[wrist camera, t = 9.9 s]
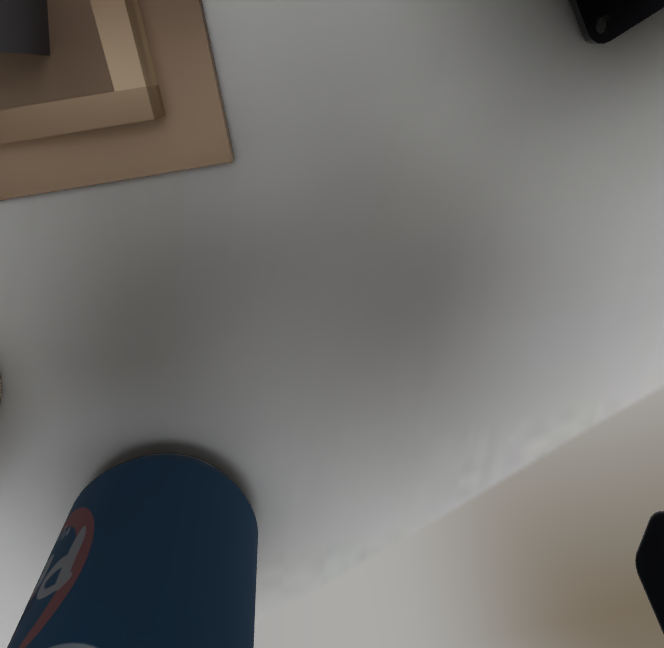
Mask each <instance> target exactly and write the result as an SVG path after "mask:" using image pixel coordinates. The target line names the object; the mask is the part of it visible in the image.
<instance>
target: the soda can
mask: <svg viewBox="0 0 664 648" xmlns="http://www.w3.org/2000/svg"><path fill="white" fill-rule="evenodd" d="M257 545H258V529H257V522H256V518H255V515H254V512H253V510H252V508H251V505H250V504H249V502H248V500H247V499H246V497H245V496H244V494H243V493H242V492H241V490H240V489H239V488H238V487H237V486H236V485H235V484H234V483H233V482H232V481H231V480H230V479H229V478H228V477H227V476H225V475H224V474H223V473H222V472H221V471H219V470H218V469H217V468H215V467H214V466H212V465H211V464H209V463H207V462H205V461H203V460H200V459H198V458H195V457H191V456H187V455H182V454H174V453H160V454H152V455H147V456H143V457H140V458H137V459H133V460H130V461H128V462H125V463H122V464H120V465H118V466H115V467H113V468H111V469H110V470H108V471H106V472H104V473H103V474H101V475H100V476H98V477H97V478H96V479H94V480H93V481H92V482H91V483H90V484H89V485H88V486H87V487H86V488H85V489H84V490H83V491H82V492H81V494H80V495H79V496H78V498H77V499H76V501H75V503H74V505H73V507H72V509H71V511H70V513H69V515H68V517H67V520H66V522H65V524H64V526H63V528H62V530H61V533H60V535H59V537H58V539H57V541H56V543H55V546H54V548H53V550H52V552H51V554H50V556H49V559H48V561H47V563H46V565H45V567H44V569H43V572H42V574H41V576H40V578H39V580H38V582H37V584H36V587H35V589H34V591H33V593H32V595H31V597H30V600H29V602H28V604H27V606H26V608H25V610H24V613H23V615H22V617H21V619H20V621H19V623H18V626H17V628H16V630H15V632H14V634H13V636H12V639H11V641H10V643H9V645H8V647H7V648H253V646H254V621H255V595H256V570H257Z"/></svg>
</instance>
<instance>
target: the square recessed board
mask: <svg viewBox="0 0 664 648" xmlns="http://www.w3.org/2000/svg"><path fill="white" fill-rule="evenodd" d="M47 6H48V23H49V40H50V56H47V55H33V54H19V53H5V52H0V200H5V199H11V198H17V197H23V196H29V195H35V194H41V193H47V192H53V191H59V190H65V189H71V188H78V187H84V186H90V185H96V184H102V183H108V182H114V181H120V180H126V179H132V178H138V177H144V176H150V175H157V174H163V173H169V172H175V171H181V170H187V169H193V168H199V167H205V166H211V165H217V164H223V163H229V162H233V160H234V155H233V150H232V145H231V140H230V135H229V131H228V126H227V121H226V116H225V111H224V107H223V102H222V97H221V92H220V87H219V82H218V78H217V73H216V68H215V63H214V58H213V54H212V49H211V44H210V39H209V34H208V29H207V25H206V20H205V15H204V10H203V5H202V1H201V0H47Z"/></svg>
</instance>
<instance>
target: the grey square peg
mask: <svg viewBox="0 0 664 648" xmlns="http://www.w3.org/2000/svg"><path fill="white" fill-rule="evenodd" d="M0 52H5V53H19V54H33V55H47V56H50V40H49V23H48V6H47V0H0Z"/></svg>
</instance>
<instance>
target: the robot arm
mask: <svg viewBox="0 0 664 648" xmlns="http://www.w3.org/2000/svg"><path fill="white" fill-rule="evenodd" d="M569 2H570V5H571V7H572V10H573V12H574V15H575V18H576V20H577V23H578V26H579V28H580V31H581V33H582V36H583V37H584V39H585V40H586V41H587V42H589V43H590V44H604V43H606V42H609V41H611V40H613V39H614V38H616V37H617V36H619V35H621V34H622V33H624V32H625V31H627V30H628V29H630V28H632V27H633V26H635V25H636V24H638V23H640V22H641V21H643V20H644V19H646V18H648V17H649V16H651V15H652V14H654V13H656V12H657V11H659V10H660V9H662V8H663V7H664V0H569ZM600 17H603V18H604V20H605V22H606V27H605V29H604V31H603V32H602V33H601V34H599V33H598V32H597V30H596V23H597V20H598V19H599V18H600ZM635 561H636V569H637V573H638V576H639V578H640V580H641V583H642V584H643V587H644V590H645V592H646V594H647V596H648V599H649V601H650V604H651V606H652V608H653V610H654V613H655V615H656V618H657V620H658V622H659V624H660V627H661V629H662V631H663V634H664V511H659V512H656V513H654V514H653V515H652V516H651V518H650V520H649V522H648V525H647V527H646V530H645V532H644V535H643V538H642V540H641V543H640V546H639V548H638V550H637V553H636V559H635Z"/></svg>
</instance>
